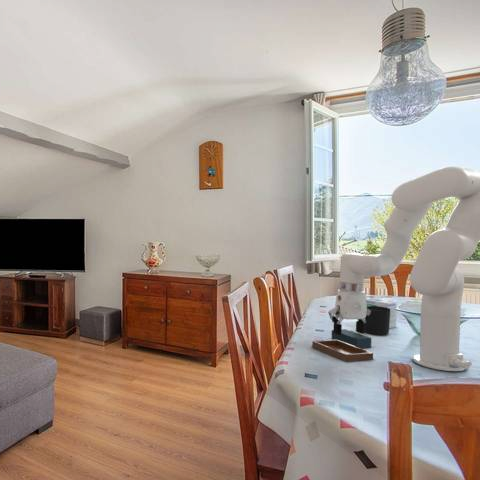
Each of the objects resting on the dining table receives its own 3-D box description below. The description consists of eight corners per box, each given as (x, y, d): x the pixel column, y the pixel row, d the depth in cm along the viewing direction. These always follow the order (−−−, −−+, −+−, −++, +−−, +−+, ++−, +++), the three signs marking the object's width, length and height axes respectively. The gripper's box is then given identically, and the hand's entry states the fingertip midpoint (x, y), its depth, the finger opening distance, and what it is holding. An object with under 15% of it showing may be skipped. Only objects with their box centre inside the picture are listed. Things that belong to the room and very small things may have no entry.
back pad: (371, 347, 141) (371, 337, 141) (356, 348, 140) (357, 338, 140) (345, 338, 153) (345, 329, 153) (331, 339, 151) (331, 330, 151)
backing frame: (373, 359, 128) (373, 352, 128) (346, 361, 126) (346, 355, 126) (336, 345, 144) (336, 339, 143) (312, 347, 141) (312, 341, 141)
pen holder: (393, 336, 155) (394, 311, 155) (366, 335, 157) (367, 309, 157) (383, 330, 164) (384, 306, 164) (358, 329, 166) (359, 305, 166)
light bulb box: (362, 323, 176) (362, 298, 176) (372, 321, 179) (372, 297, 179) (387, 328, 167) (387, 303, 166) (397, 327, 170) (397, 301, 169)
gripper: (338, 289, 140) (335, 337, 141) (379, 288, 144) (376, 335, 145) (323, 285, 147) (320, 331, 149) (362, 284, 151) (360, 329, 152)
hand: (348, 333), depth 147 cm, fingers open, 9 cm apart
